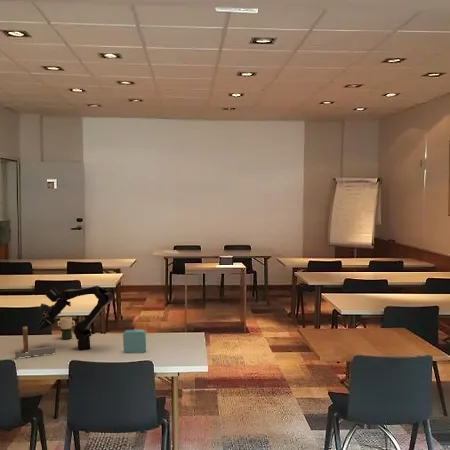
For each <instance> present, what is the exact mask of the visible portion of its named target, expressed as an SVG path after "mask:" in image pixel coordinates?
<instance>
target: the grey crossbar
mask: <svg viewBox="0 0 450 450" xmlns="http://www.w3.org/2000/svg"><path fill="white" fill-rule="evenodd" d="M53 353H55V354H56V347H55V346H46V347H38V348H37V347H36V348H30V349H29V352H28V353H24V352H22V350H21V349H20V350H18V349H17V350H14V356H15V358H19V357H25V356H34V355H44V354H53Z"/></svg>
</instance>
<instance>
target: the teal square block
mask: <svg viewBox="0 0 450 450" xmlns="http://www.w3.org/2000/svg"><path fill="white" fill-rule="evenodd" d="M122 339H123V340H122V341H123V344H122V347H123V353H125V354H131V353H132V354H133V353H134V354H136V353H137V354H138V353H144V352H145V351H146V349H147V337H146V331H145V330H144V329H126V330H124V332H123V333H122Z"/></svg>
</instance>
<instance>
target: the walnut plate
mask: <svg viewBox="0 0 450 450" xmlns="http://www.w3.org/2000/svg"><path fill="white" fill-rule="evenodd" d="M28 333H29V332H28V326H27V325H25V326H22V344H23V353H24V352H28V353H29V336H28V335H29V334H28Z"/></svg>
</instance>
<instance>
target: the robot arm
mask: <svg viewBox="0 0 450 450" xmlns="http://www.w3.org/2000/svg"><path fill="white" fill-rule="evenodd" d="M91 294H93V295H94V296H95V298H96V299H97V304H96V305H95V306H94V308H93V309H91V311H90V313H88V315H87V316H86V318H84V320H81V321H78V322H77V323H76V324H75V326H73V334H74V336H75V339H76V340H77V342H76V343H77V349H78V350H79V351H85V350H91V349H92V348H91V338H90V337H92V334H93V333H92V331H91V330H90V327H91V325H92V323H93V322H94V321H95V319H96V318H97V317H98V316H99V314H100V313H101V312H102V311H103V309H104V308H105V307H106V306H108V305H109V304H110V303H112V302H113V301H114V300H115V299H114V298H115V297H114V293H112V292H110V291H108V290H107V289H105V288H103V287H101V286H99V285H93V286H91V287H84V288H80V289H75V288H74V289H67V290H63V291H62V292H60V291H59V290H57V288H56V287H51V289H50V290H48V292H46V294H45V297H46V298H48V299H49V300H50V301H51V302H52V303H54V304H52V305H48V304H45V303H40V306H39V311H43V313H42V315H43V316H42V318H41V320H40V322H39V323H38V327H39V328H38V330H39V331H42V330H43V329H46V328H48V327H50V326H53V325H55V323H56V318H57V317H58V315H60V314H61V313H62V311H63V310H64V309H65V308H66V306H68V307H71V306H72V305H71V301H69V300H72V299H75V298H77V297H81V296H87V295H91Z"/></svg>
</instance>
